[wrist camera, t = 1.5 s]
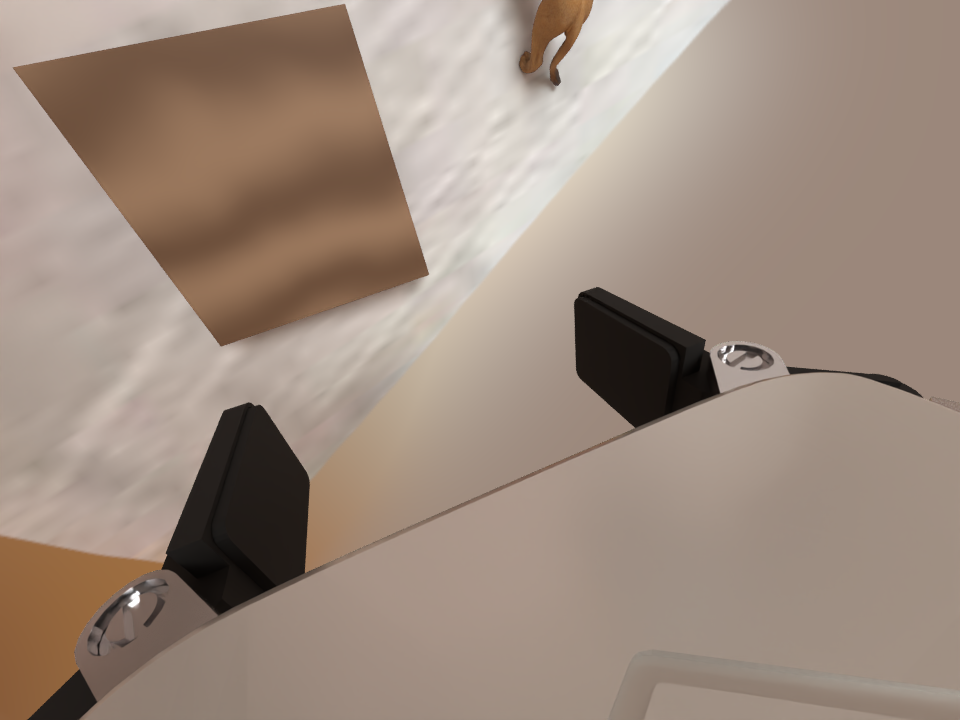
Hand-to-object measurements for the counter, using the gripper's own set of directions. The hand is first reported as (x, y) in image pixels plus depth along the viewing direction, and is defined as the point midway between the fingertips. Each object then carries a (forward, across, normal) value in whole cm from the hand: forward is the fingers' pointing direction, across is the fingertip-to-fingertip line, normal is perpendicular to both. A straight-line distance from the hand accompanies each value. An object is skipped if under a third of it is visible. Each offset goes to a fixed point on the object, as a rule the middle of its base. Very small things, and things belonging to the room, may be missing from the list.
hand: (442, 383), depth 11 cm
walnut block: (+24, +5, -4) cm, 25 cm away
